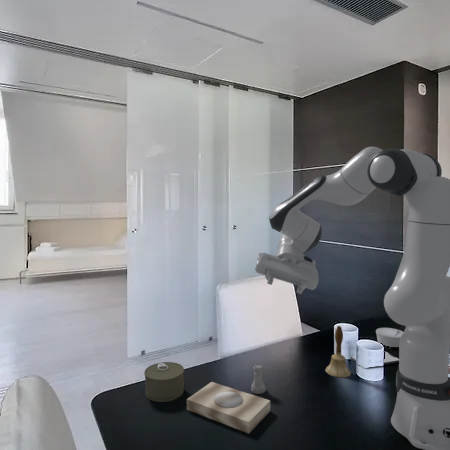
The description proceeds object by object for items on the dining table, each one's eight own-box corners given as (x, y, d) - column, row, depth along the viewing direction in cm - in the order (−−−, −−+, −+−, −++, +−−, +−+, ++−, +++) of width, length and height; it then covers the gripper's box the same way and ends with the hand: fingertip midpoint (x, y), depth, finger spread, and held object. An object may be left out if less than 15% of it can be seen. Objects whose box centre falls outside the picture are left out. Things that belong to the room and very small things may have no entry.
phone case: (363, 371, 127) (402, 364, 131) (363, 366, 127) (402, 360, 131) (348, 360, 136) (385, 354, 140) (348, 356, 136) (385, 350, 140)
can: (148, 406, 105) (148, 382, 104) (141, 386, 116) (141, 365, 115) (189, 397, 109) (188, 375, 109) (178, 379, 120) (178, 359, 120)
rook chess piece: (261, 396, 109) (261, 370, 109) (248, 392, 112) (248, 366, 111) (268, 389, 113) (268, 364, 113) (255, 385, 116) (255, 361, 115)
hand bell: (354, 371, 125) (355, 325, 125) (345, 380, 119) (345, 332, 118) (331, 364, 131) (332, 320, 130) (321, 372, 124) (321, 326, 124)
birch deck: (270, 411, 101) (270, 399, 101) (248, 433, 91) (248, 421, 91) (211, 391, 112) (211, 380, 112) (186, 409, 102) (186, 398, 102)
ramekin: (411, 350, 143) (411, 337, 143) (382, 350, 143) (382, 337, 143) (398, 339, 154) (398, 327, 154) (371, 339, 155) (371, 327, 154)
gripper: (261, 244, 122) (254, 269, 111) (320, 262, 121) (320, 289, 109) (256, 258, 126) (249, 284, 114) (314, 276, 124) (313, 304, 113)
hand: (284, 287), depth 112 cm, fingers open, 8 cm apart
